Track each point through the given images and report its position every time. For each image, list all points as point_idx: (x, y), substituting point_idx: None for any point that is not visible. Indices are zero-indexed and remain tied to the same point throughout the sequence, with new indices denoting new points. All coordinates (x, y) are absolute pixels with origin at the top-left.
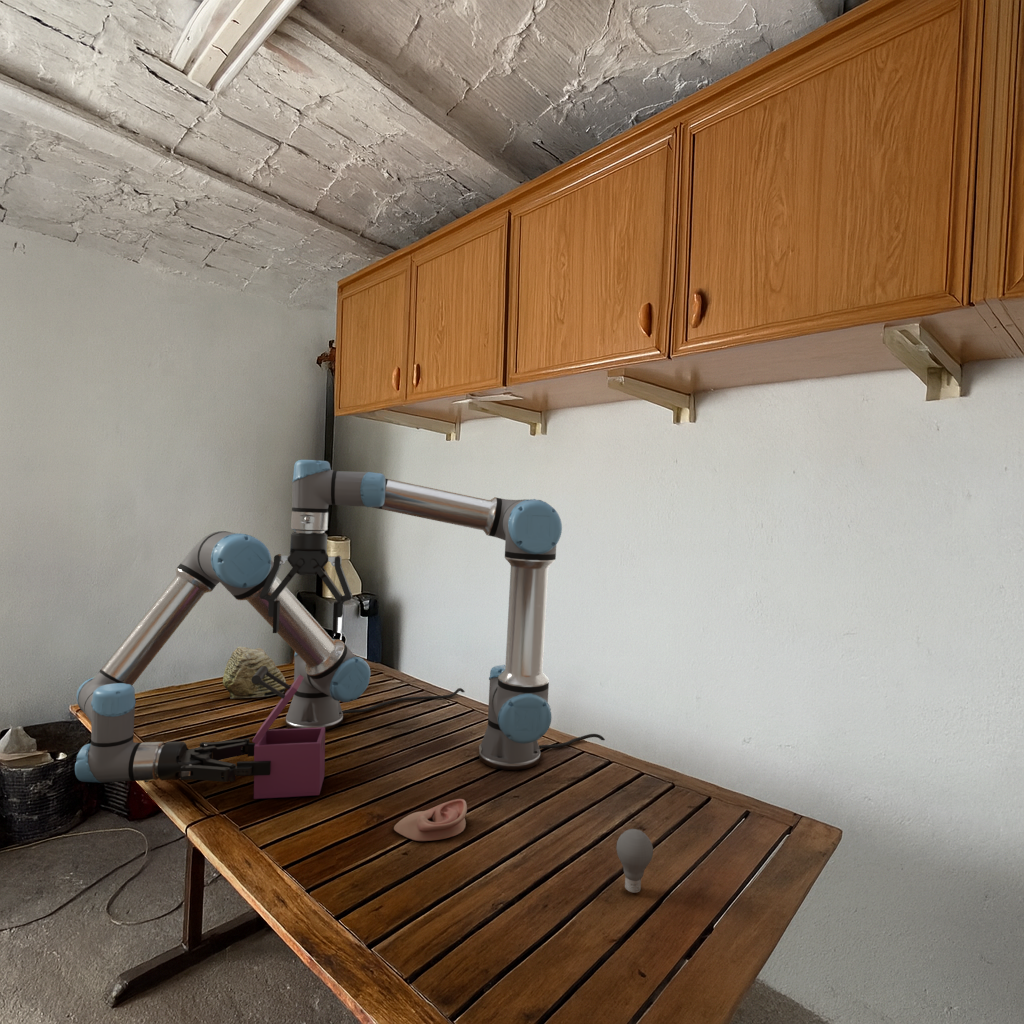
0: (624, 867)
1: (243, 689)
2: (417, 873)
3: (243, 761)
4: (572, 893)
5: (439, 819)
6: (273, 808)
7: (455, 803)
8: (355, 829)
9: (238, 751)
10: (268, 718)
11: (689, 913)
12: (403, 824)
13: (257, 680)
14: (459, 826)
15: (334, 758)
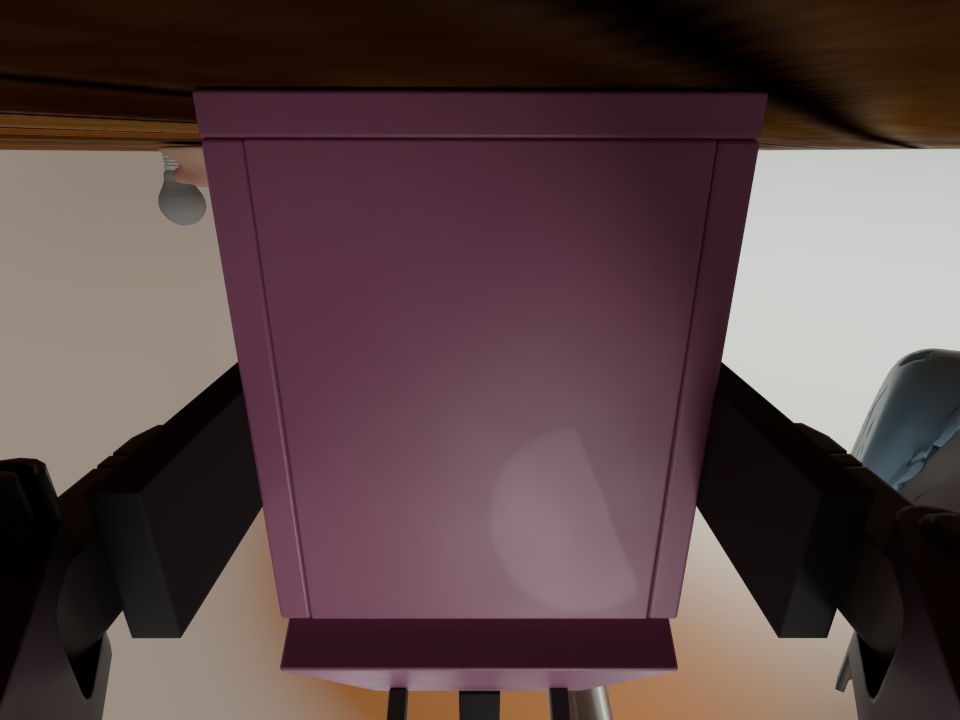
0: (166, 185)
1: None
2: (27, 142)
3: (215, 581)
4: (130, 148)
5: None
6: (115, 111)
7: None
8: (140, 137)
9: (895, 693)
10: (383, 681)
11: (156, 150)
12: (197, 163)
13: None
14: None
15: (839, 131)
